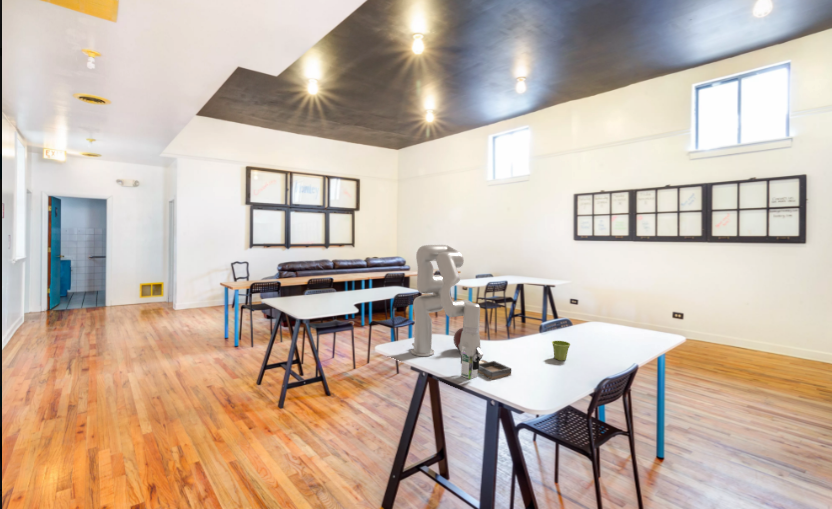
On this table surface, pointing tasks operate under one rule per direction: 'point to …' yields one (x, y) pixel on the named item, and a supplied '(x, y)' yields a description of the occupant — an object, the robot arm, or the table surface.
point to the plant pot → (560, 349)
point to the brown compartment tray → (493, 369)
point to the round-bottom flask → (457, 337)
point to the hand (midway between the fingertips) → (469, 366)
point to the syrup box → (467, 365)
